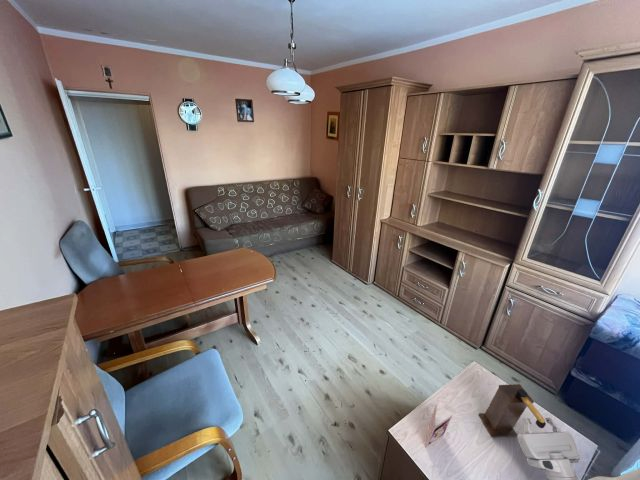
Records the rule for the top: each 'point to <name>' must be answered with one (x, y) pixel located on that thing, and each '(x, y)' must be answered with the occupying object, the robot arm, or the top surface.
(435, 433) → the greeting card
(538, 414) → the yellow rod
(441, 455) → the top surface
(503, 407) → the pedestal
